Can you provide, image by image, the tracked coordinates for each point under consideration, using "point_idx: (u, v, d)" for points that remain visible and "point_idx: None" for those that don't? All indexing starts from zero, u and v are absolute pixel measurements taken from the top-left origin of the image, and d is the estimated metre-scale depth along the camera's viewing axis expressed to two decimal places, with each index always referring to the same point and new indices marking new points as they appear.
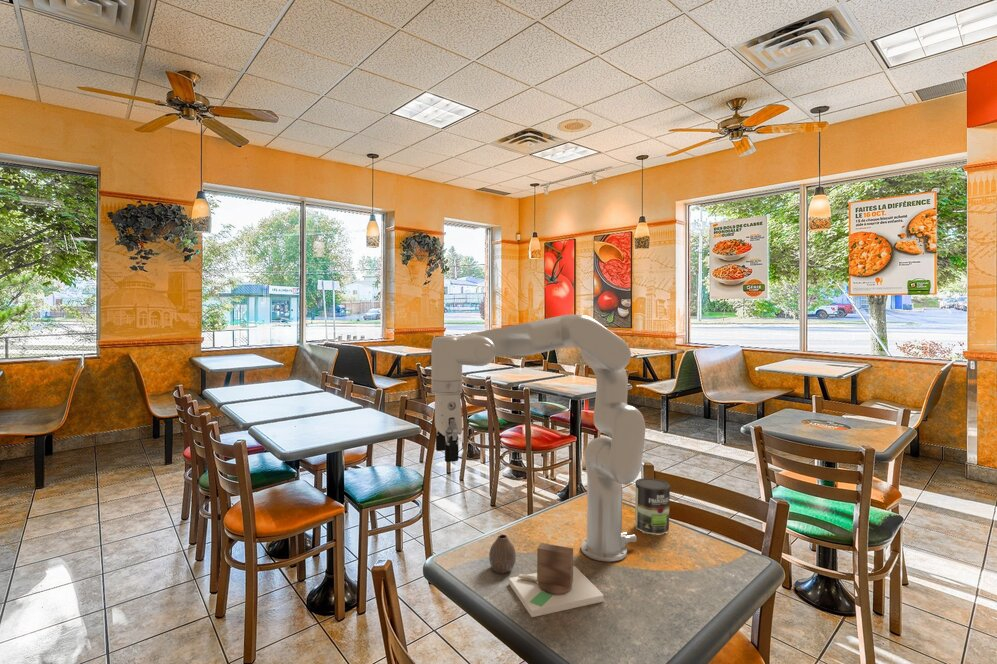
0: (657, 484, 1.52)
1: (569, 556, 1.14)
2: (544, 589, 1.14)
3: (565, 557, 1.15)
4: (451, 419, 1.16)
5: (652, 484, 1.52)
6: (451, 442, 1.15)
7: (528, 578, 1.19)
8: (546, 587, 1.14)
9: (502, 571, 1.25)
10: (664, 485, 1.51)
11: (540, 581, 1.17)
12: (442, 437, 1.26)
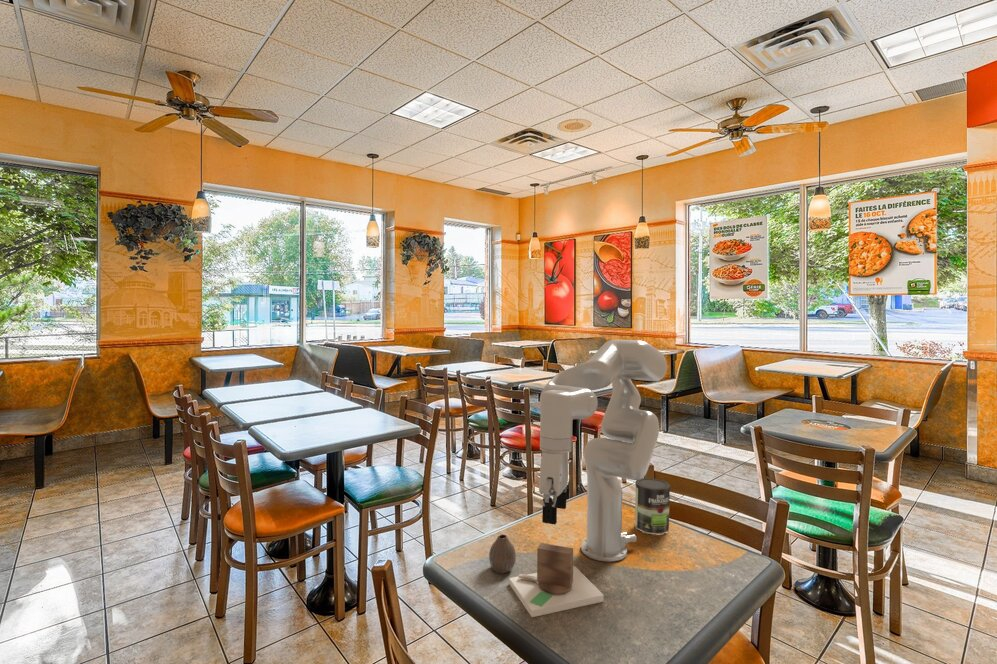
0: (657, 484, 1.52)
1: (569, 556, 1.14)
2: (544, 589, 1.14)
3: (565, 557, 1.15)
4: None
5: (652, 484, 1.52)
6: None
7: (528, 578, 1.19)
8: (546, 587, 1.14)
9: (502, 571, 1.25)
10: (664, 485, 1.51)
11: (540, 581, 1.17)
12: None
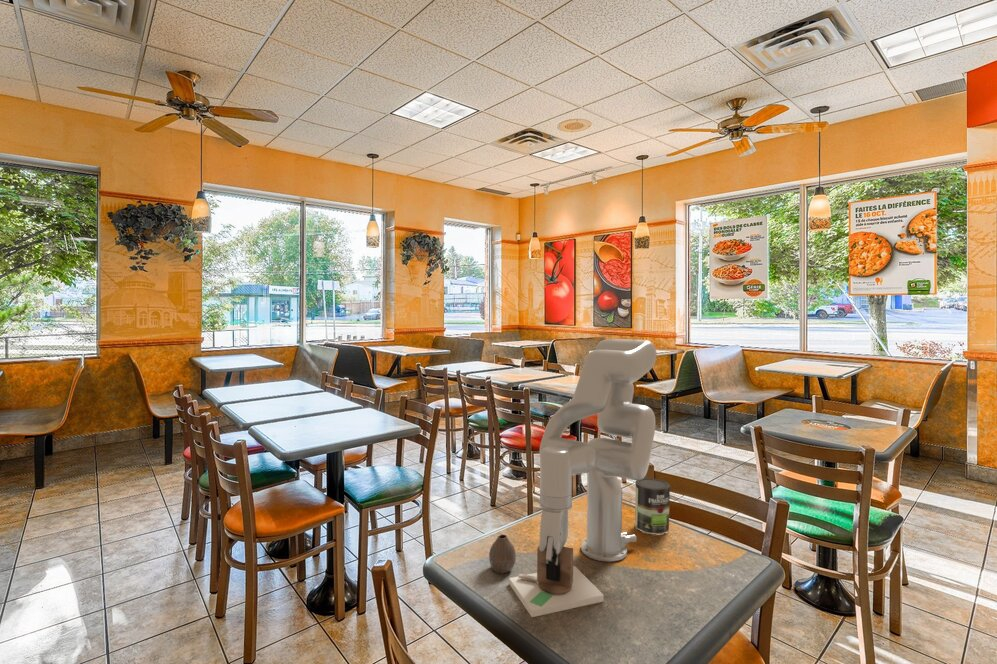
0: (657, 484, 1.52)
1: (569, 556, 1.14)
2: (544, 589, 1.14)
3: (565, 557, 1.15)
4: None
5: (652, 484, 1.52)
6: None
7: (528, 578, 1.19)
8: (546, 587, 1.14)
9: (502, 571, 1.25)
10: (664, 485, 1.51)
11: (540, 581, 1.17)
12: None
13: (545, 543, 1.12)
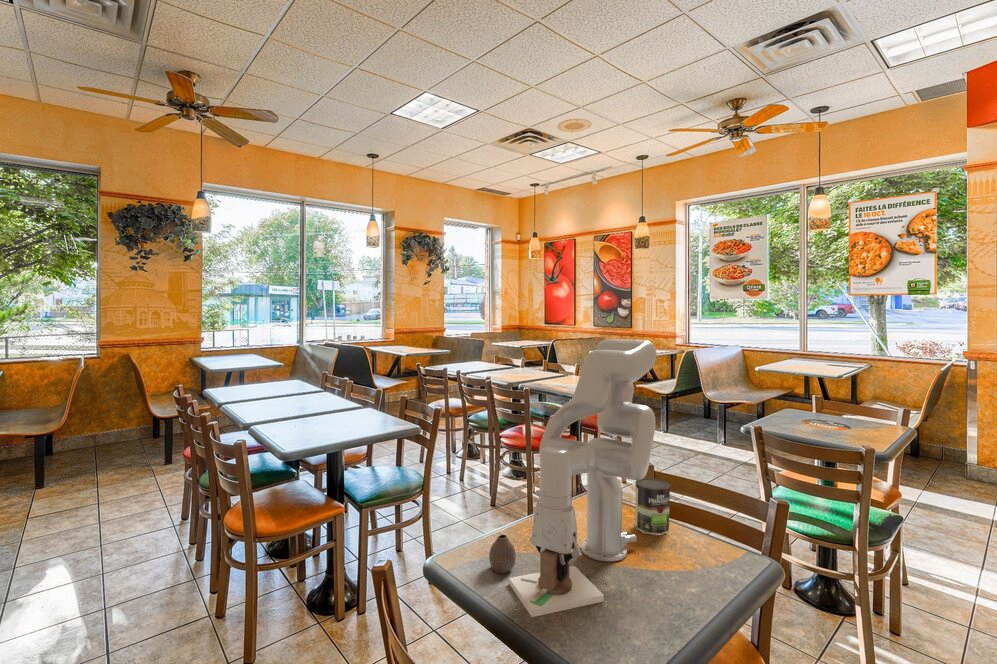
0: (657, 484, 1.52)
1: None
2: (564, 591, 1.14)
3: None
4: None
5: (652, 484, 1.52)
6: None
7: (541, 595, 1.12)
8: (564, 588, 1.14)
9: (502, 571, 1.25)
10: (664, 485, 1.51)
11: (553, 588, 1.14)
12: None
13: (572, 542, 1.13)
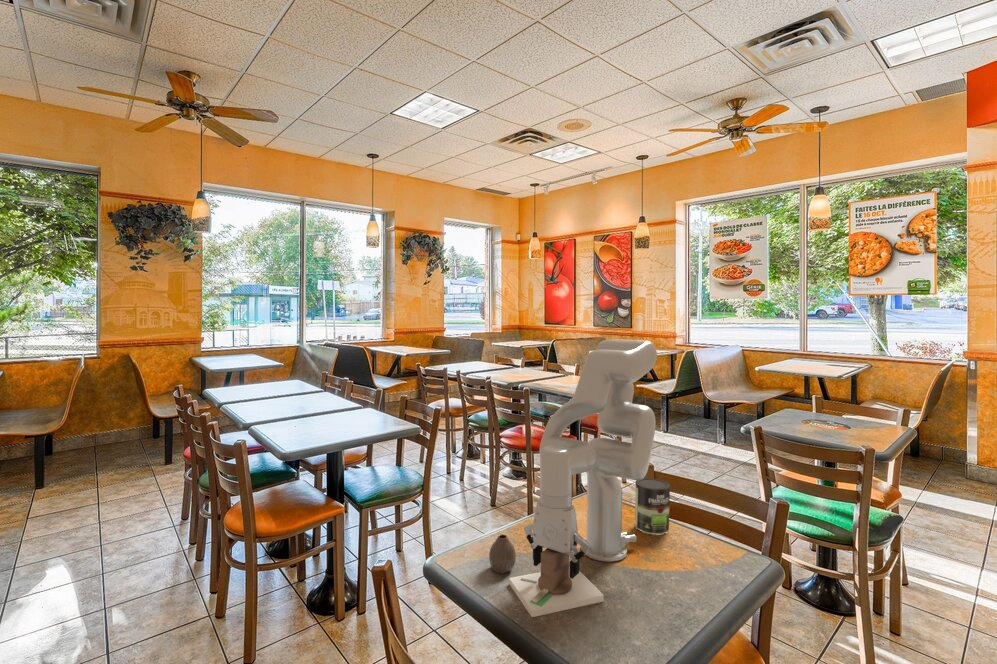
0: (657, 484, 1.52)
1: None
2: (565, 591, 1.14)
3: None
4: None
5: (652, 484, 1.52)
6: None
7: (542, 595, 1.12)
8: (565, 588, 1.14)
9: (502, 571, 1.25)
10: (664, 485, 1.51)
11: (554, 588, 1.14)
12: None
13: (573, 541, 1.13)
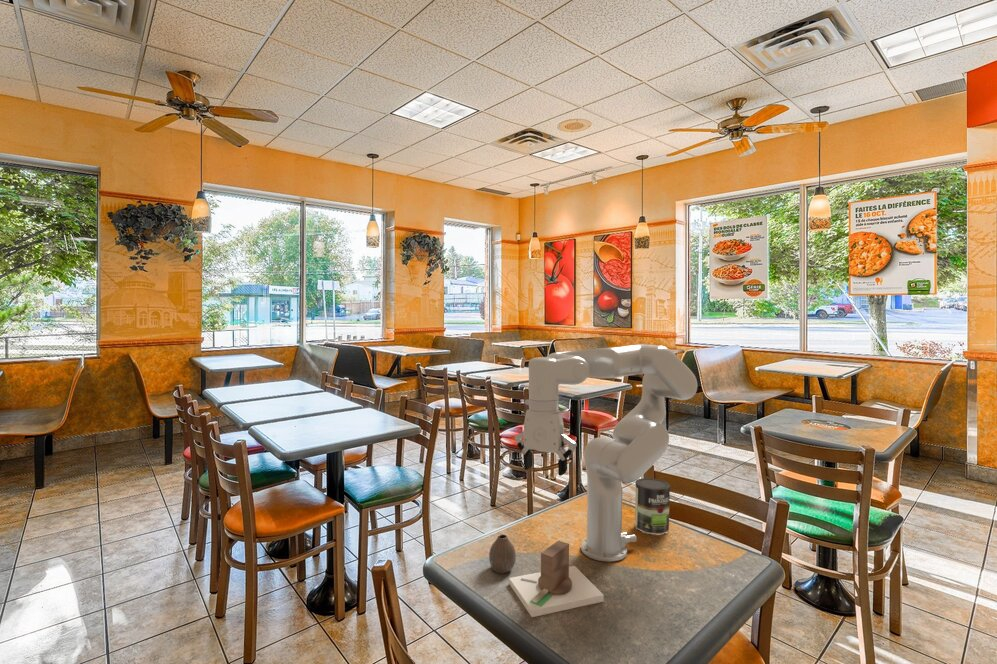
0: (657, 484, 1.52)
1: (568, 546, 1.19)
2: (565, 591, 1.14)
3: (566, 550, 1.18)
4: None
5: (652, 484, 1.52)
6: None
7: (542, 595, 1.12)
8: (565, 588, 1.14)
9: (502, 571, 1.25)
10: (664, 485, 1.51)
11: (554, 588, 1.14)
12: None
13: (561, 441, 1.23)
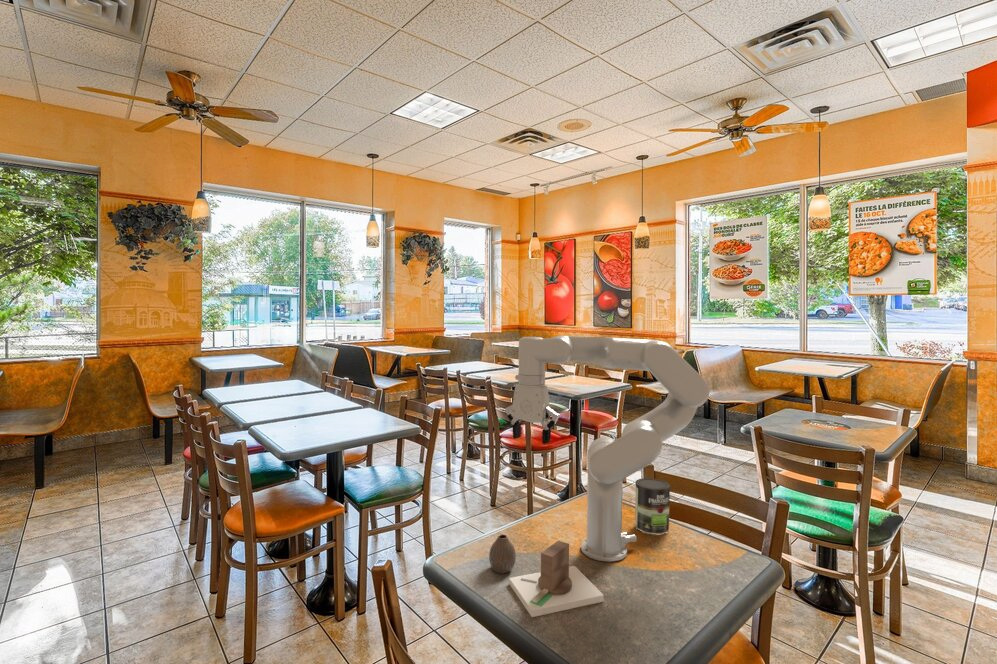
0: (657, 484, 1.52)
1: (568, 546, 1.19)
2: (565, 591, 1.14)
3: (566, 550, 1.18)
4: None
5: (652, 484, 1.52)
6: None
7: (542, 595, 1.12)
8: (565, 588, 1.14)
9: (502, 571, 1.25)
10: (664, 485, 1.51)
11: (554, 588, 1.14)
12: None
13: (545, 412, 1.36)
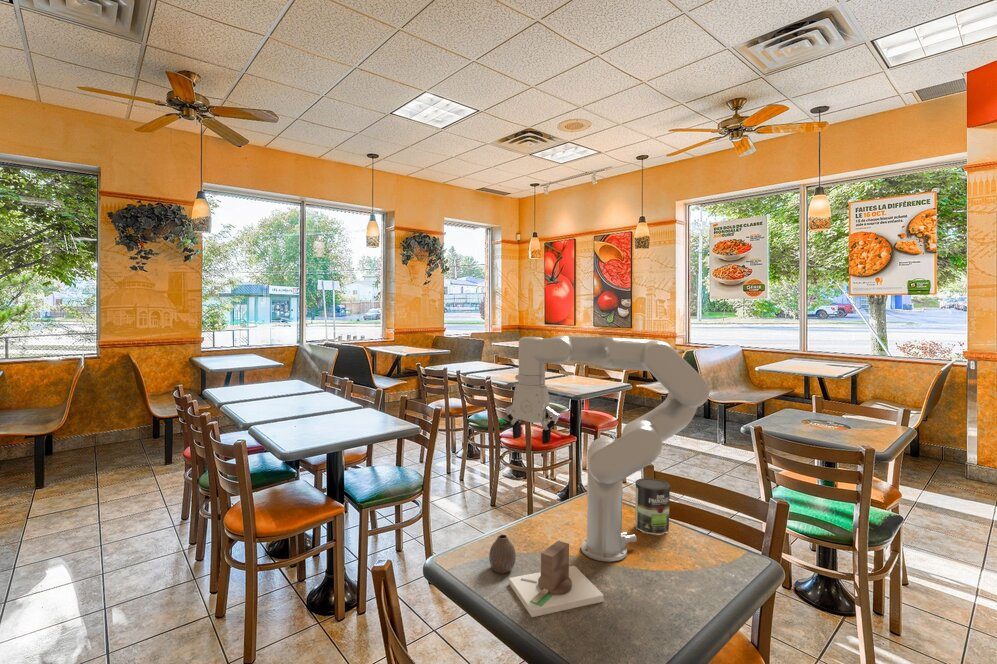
0: (657, 484, 1.52)
1: (568, 546, 1.19)
2: (565, 591, 1.14)
3: (566, 550, 1.18)
4: None
5: (652, 484, 1.52)
6: None
7: (542, 595, 1.12)
8: (565, 588, 1.14)
9: (502, 571, 1.25)
10: (664, 485, 1.51)
11: (554, 588, 1.14)
12: None
13: (545, 412, 1.36)
